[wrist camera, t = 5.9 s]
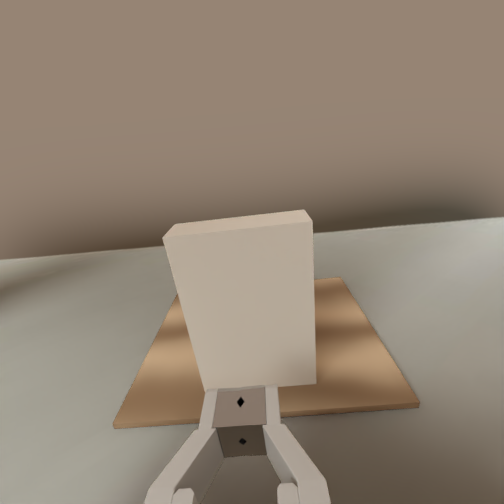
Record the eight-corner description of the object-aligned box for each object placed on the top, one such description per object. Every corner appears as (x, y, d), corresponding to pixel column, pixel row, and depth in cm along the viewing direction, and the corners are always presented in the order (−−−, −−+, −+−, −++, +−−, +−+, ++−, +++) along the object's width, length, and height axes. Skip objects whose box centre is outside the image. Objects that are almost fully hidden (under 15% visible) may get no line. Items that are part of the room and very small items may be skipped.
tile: (316, 384, 18) (312, 221, 13) (205, 392, 18) (162, 237, 14) (309, 356, 20) (304, 209, 16) (210, 365, 21) (175, 223, 16)
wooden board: (418, 407, 16) (419, 402, 16) (114, 428, 17) (112, 424, 17) (340, 280, 31) (340, 276, 31) (178, 296, 32) (177, 292, 32)
